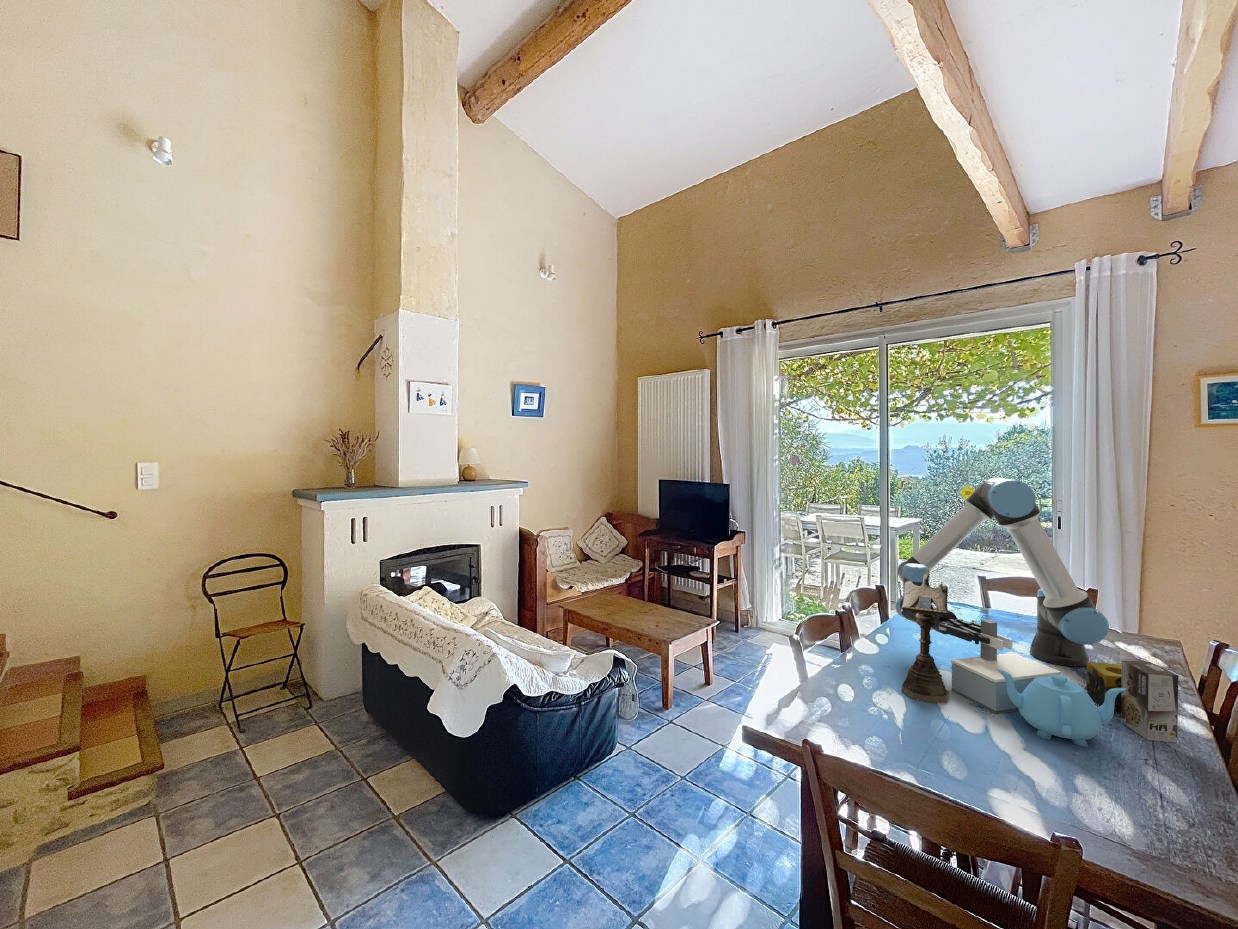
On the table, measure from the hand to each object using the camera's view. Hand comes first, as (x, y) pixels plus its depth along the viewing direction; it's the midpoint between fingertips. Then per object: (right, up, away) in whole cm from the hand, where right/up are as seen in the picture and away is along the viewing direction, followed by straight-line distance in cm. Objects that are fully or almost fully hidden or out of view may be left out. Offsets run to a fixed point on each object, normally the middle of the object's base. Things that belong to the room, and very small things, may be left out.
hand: (1006, 645), depth 148 cm
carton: (0, -15, +1) cm, 15 cm away
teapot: (-1, -16, -18) cm, 24 cm away
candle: (+27, -15, -5) cm, 31 cm away
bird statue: (-22, -15, +1) cm, 26 cm away
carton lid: (0, -7, +1) cm, 7 cm away
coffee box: (+22, -15, -18) cm, 32 cm away
